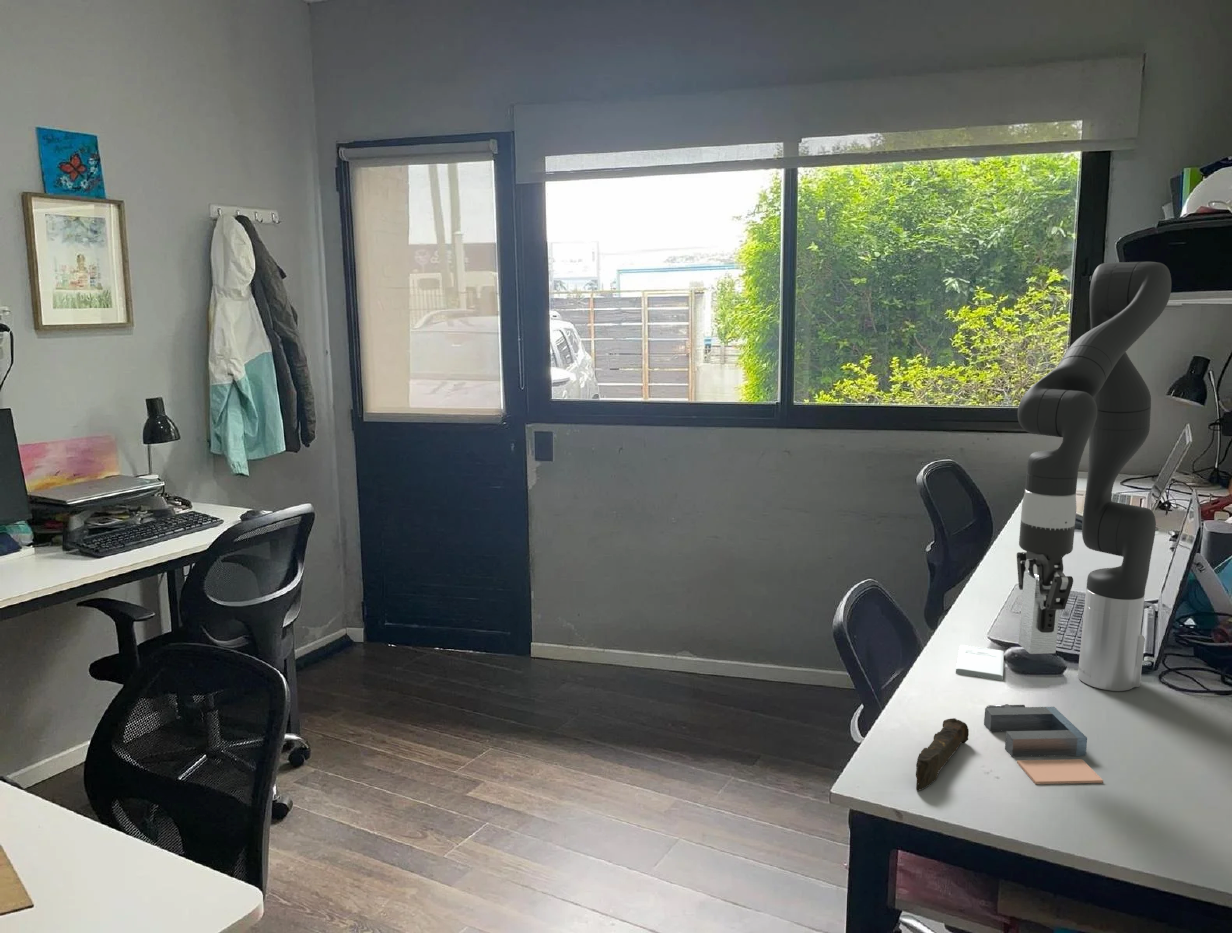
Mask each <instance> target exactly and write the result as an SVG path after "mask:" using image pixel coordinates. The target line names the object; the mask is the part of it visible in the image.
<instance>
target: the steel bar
mask: <svg viewBox="0 0 1232 933" xmlns="http://www.w3.org/2000/svg"><path fill="white" fill-rule="evenodd" d="M1043 588H1044V589H1050V588H1051V586H1044V585H1043ZM1037 589H1038V579H1036V578H1035V575H1034V574H1033V573H1028V572H1024V581H1023V590H1022V593H1021V594H1022V595H1021V607H1020V616H1019V617H1020V619H1019V630H1018V631H1019V632H1018V641H1017V642H1018V645H1019V646H1020V647H1022V649H1023V650H1025V651H1026V652H1027V653H1028V654H1030V655H1038V654H1056V652H1057V643H1058V642H1057V640H1058V631H1059V630H1058V629H1059V620H1060V610H1056V614H1055V625H1054V631H1053V632H1050V633H1042V632H1040V631H1039V630H1038V622H1039V611H1040V594H1038V592H1037ZM1048 595H1049V594H1047V595H1046V601H1047V598H1048ZM1059 601H1060V598H1059Z"/></svg>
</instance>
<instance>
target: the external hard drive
mask: <svg viewBox="0 0 1232 933" xmlns="http://www.w3.org/2000/svg"><path fill="white" fill-rule="evenodd" d="M1004 657H1005V652H1004V650H1001V649H994V648H989V647H988V648H987V647H979V646H973V645H967V644H960V645H959V648H958V654H957V660H956V665H955V674H956V675H965V676H972V677H978V678H985V679H991V680H998V681H1004V680H1003V679H1004Z"/></svg>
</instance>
